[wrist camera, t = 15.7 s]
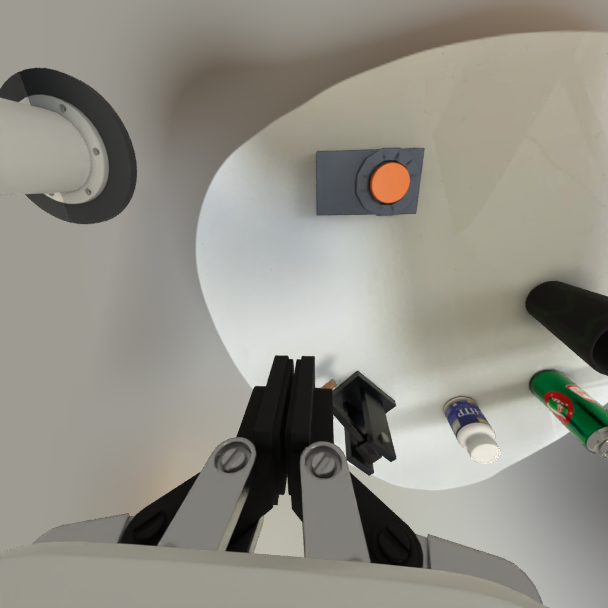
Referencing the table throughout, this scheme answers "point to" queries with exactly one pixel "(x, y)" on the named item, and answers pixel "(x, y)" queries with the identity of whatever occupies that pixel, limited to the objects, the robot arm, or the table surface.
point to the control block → (364, 181)
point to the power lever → (354, 430)
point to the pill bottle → (472, 429)
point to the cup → (574, 319)
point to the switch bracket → (366, 418)
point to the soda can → (574, 410)
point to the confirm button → (389, 182)
